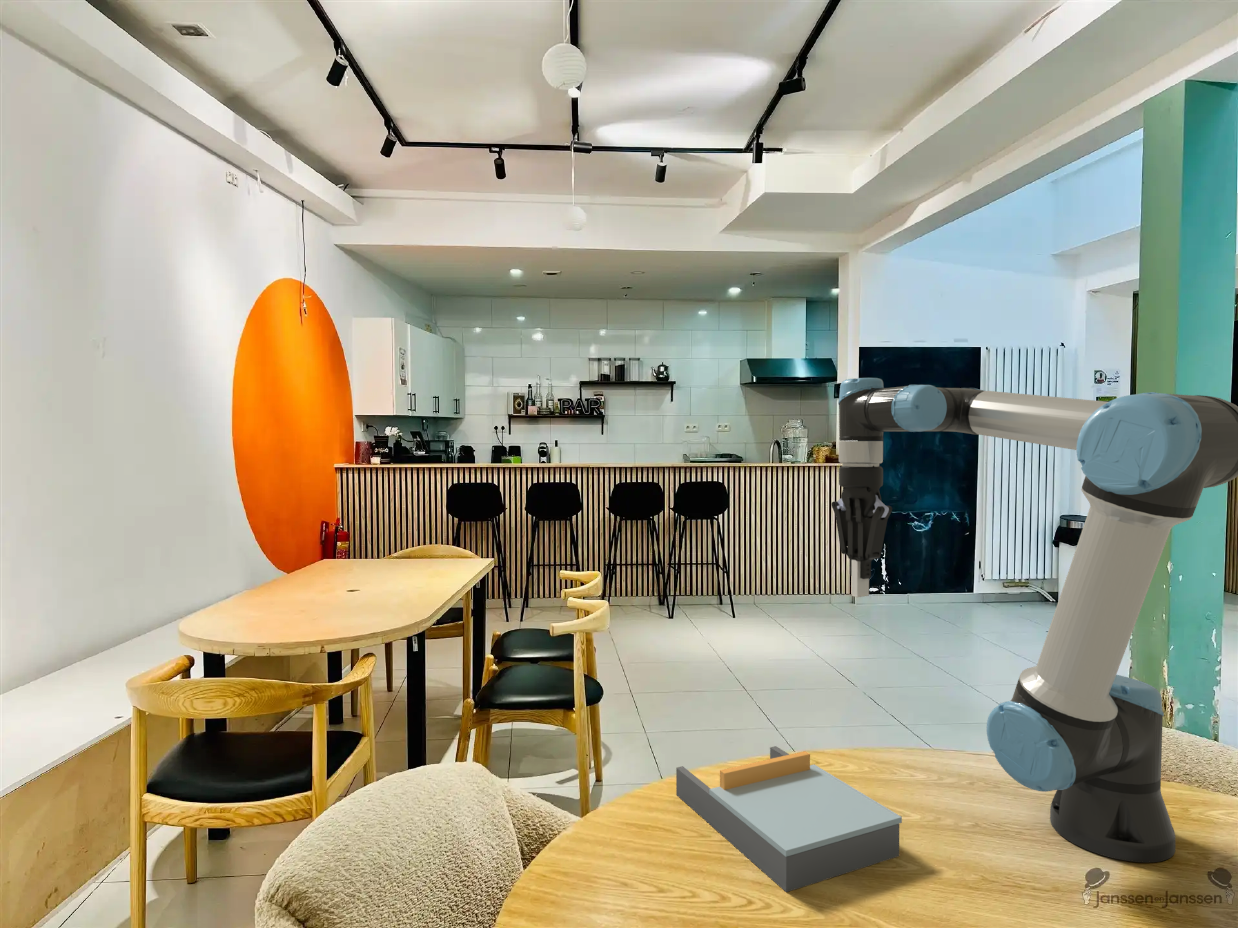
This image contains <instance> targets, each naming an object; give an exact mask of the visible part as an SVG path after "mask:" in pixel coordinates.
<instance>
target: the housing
mask: <svg viewBox="0 0 1238 928" xmlns="http://www.w3.org/2000/svg"><path fill="white" fill-rule="evenodd" d="M790 754H791V753H790ZM790 754H789V753H788V752H787V751H784V749H781V748H780V747H779V746H777V745H776V746H775V745H774V746H770V747H769V759H772V758H777V757H781V756H786V755H790ZM675 770H676V771H675V772H676V773H675V775H676V778H675V779H676V780H675V781H676V791H675V792H676V796H677V797H678V798H679V799H681V801H682V802H683V803H685V804H686V805H687V806H688V807H689V808H690V809H692V810H693V811H694V812H695V813H696V814H697V815H698V816H699V817H701V818H702V820H704V821H705V822H706V823H707V824H708V825H710V826H711V827H712V828H713V829H714V830H715V831H717V833H719V835H721V836H722V837H723V838H725V839H726V841H728V842H729V843H730V844H731V845H732V846H733V847H735V849H737V850H738V851H739V852H740V853H741V854H742V855H743V856H744V857H746V858H747V859H748V860H749V861H750V862H751V863H753V864H754V865H755V866H756V867H757V868H758V869H759V870H761V872H763V873H764V874H765V875H766V876H767V877H768V878H770V880H772V881H773V882H774V883H775V884H776V885H777V886H779V888H781V889H782V890H783V891H784V892H785V893H788V892H790V891H791V892H792V891H795V890H797V889H801V888H804V887H807V886H811V885H813V884H816V883H819V882H822V881H825V880H829V879H832V878H834V877H839V876H841V875H844V874H847V873H851V872H854V871H857V870H860V869H863V868H866V867H869V866H873V865H876V864H878V863H879V864H880V863H882V862H885V861H888V860H891V859H895V858H897V857H900V823H899V824H896V825H892V826H889V827H886V828H882V829H879V830H875V831H872V832H869V833H865V834H862V835H858V836H855V837H852V838H848V839H845V840H842V841H838V842H835V843H831V844H828V845H825V846H821V847H818V848H814V849H811V850H808V851H804V852H801V853H797V854H794V855H791V856H787V857H785V856H784V855H783V854H782V853H781V852H779V851H778V850H777V849H776V848H774V847H773V846H772V845H771V844H770V843H768V842H767V841H766V840H765V839H763V838H762V837H761V836H760V835H759V834H757V833H756V832H755V831H754V830H752V829H751V828H750V827H749V826H748V825H746V824H745V823H744V822H743V821H741V820H740V819H739V818H738V817H737V816H735V815H734V814H733V813H732V812H730V811H729V810H728V809H727V808H726V807H724V806H723V805H722V804H721V803H719V802H718V801H717V800H716V799H715V798H713V797H712V796H711V795H710V794H709V789H712V788H710V787H709V786H708V785H707V784H706V783H704V781H702V780H701V779H699V778H698V777H697V776H696V775H695V774H693V773H692V772H691V771H689V770H688V768H685V766H678V767H676V769H675Z"/></svg>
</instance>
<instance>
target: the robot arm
mask: <svg viewBox="0 0 1238 928" xmlns="http://www.w3.org/2000/svg"><path fill="white" fill-rule="evenodd" d="M839 387H840V388H839V396H838V413H839V414H838V417H839V418H838V420H839V421H838V427H839V428H838V429H839V430H838V431H839V432H838V433H839V439H838V463H840V464H842V465H841V466H839V468H838V485H839V486H840V487H842V491H841V493H840V499H838V500H836V501H832V502H831V508H832V509H833V513H834V516H835V521H836V528H837V535H838V542H839V547H840V553H841V554H842V555H846V556H847V558H848V559H849V575H850V577H851V581H850V582H851V585H850V587H851V595H850V596H852V597H855V598H863V597H869V596H870V580H871V577H872V561H873V560H875V559H879V558H881V556H882V550H883V545H884V540H885V536H886V529H887V523H888V519H889V518H890V515H891V513H892V512H893V507H892V506H890V505H885V503H883V502H882V496H881V493H880V489H881V488H882V487H883V485H884V468H883V467H882V466H880V464H882V463H883V462H884V461H883V460H884V433H885V432H911V433H912V432H913V433H916V432H919V433H921V432H955V433H956V432H957V433H964V434H971V435H977V436H978V435H980V436H986V437H992V438H998V439H1004V440H1010V441H1011V440H1012V441H1017V442H1023V443H1030V444H1036V445H1043V446H1049V447H1054V448H1061V449H1067V450H1073V451H1076V458H1077V461H1078V462H1080V465H1081V468H1080V469H1081V471H1082V473H1083V474H1084V476H1085V477H1084V479H1083V483H1082V486H1081V489H1080V490H1081V493H1082V494H1083V495H1084V496H1085V498H1086V499H1087V501H1088V502H1089V503H1088V504H1089V510H1088V512H1087V515H1086V518H1085V522H1084V525H1083V527H1082V529H1081V533H1080V535H1079V539H1078V542H1077V545H1076V549H1075V551H1074V554H1073V557H1072V561H1071V562H1070V566H1069V569H1068V572H1067V575H1066V577H1065V580H1064V583H1063V587H1062V590H1061V593H1060V596H1059V598H1058V600H1057V601H1058V602H1057V605H1056V607H1055V610H1054V613H1053V616H1052V620H1051V623H1050V626H1049V628H1048V631H1047V634H1046V637H1045V639H1044V643H1043V646H1042V649H1041V652H1040V654H1039V658H1038V661H1037V664H1036V665H1035V666H1031V667H1029V668H1025V669H1024V670H1022V671H1021V672H1020V674H1019V677H1018V680H1017V683H1016V686H1015V689H1014V691H1013V695H1012V697H1011V700H1009V701H1004V702H1000V703H999V704H998V705H997V706H996V707H994V708H993V709H992V710H991V711H990V713H989V715H988V716H987V720H986V721H987V722H986V735H987V741H988V744H989V747H990V749H991V750H992V751H993V753H994V757H995V759H996V761H997V763H998V764H999V765H1000V767H1002V769H1003V770H1004V771H1005V772H1006V774H1008V776H1010V778H1012V779H1013V780H1014V781H1015V782H1017V783H1019V784H1020V785H1022V786H1023V787H1025V788H1027V789H1031V790H1032V791H1037V792H1045V793H1046V792H1053V791H1055V793H1054V796H1053V798H1052V800H1051V803H1050V807H1049V808H1050V810H1049V813H1050V815H1049V816H1050V817H1049V822H1050V825H1051V827H1052V828H1053V829H1054V831H1056V833H1058V834H1059V835H1060V836H1061V837H1063V838H1064V839H1066V840H1067V841H1069V842H1071V844H1074V845H1075V846H1078V847H1080V848H1083V849H1085V850H1086V851H1089V852H1091V853H1095V854H1097V855H1101V856H1104V857H1108V858H1112V859H1115V860H1119V861H1120V860H1121V861H1124V862H1125V861H1126V862H1133V863H1134V862H1135V863H1158V862H1164V861H1166V860H1168V859H1171V858H1172V857H1173V856H1174V855H1175V852H1176V832H1175V829H1174V826H1173V825H1172V820H1171V817H1170V815H1169V813H1168V808H1167V807H1166V804H1165V800H1164V798H1163V795H1162V791H1161V789H1162V788H1161V787H1162V785H1161V783H1162V756H1163V755H1162V751H1163V749H1162V748H1163V747H1162V745H1163V717H1165V715H1164V711H1163V702H1162V701H1163V700H1162V699H1163V698H1162V695H1161V693H1160V691H1159V690H1158V689H1157V688H1156V687H1154V686H1153V685H1151V684H1149V683H1146V682H1144V681H1141V680H1138V679H1135V678H1132V677H1129V676H1125V675H1120V674H1117V673H1118V671H1119V668H1120V665H1121V663H1122V661H1123V657H1124V655H1125V653H1126V650H1127V647H1128V644H1129V641H1130V639H1131V636H1132V634H1133V632H1134V628H1135V625H1136V623H1137V621H1138V618H1139V616H1140V612H1141V610H1142V608H1143V604H1144V602H1145V600H1146V596H1147V593H1148V591H1149V589H1150V585H1151V584H1152V581H1153V578H1154V575H1155V572H1156V570H1157V568H1158V564H1159V562H1160V559H1161V557H1162V554H1163V551H1164V548H1165V546H1166V544H1167V541H1168V538H1169V535H1170V533H1171V531H1172V530H1171V529H1172V528H1173V527H1175V526H1176V525H1179V524H1181V523H1184V522H1187V521H1189V520H1191V519H1192V518H1193V516H1194V514H1195V511H1196V509H1197V506H1198V503H1199V501H1200V498H1201V495H1202V493H1203V490H1204V489H1206V488H1207V489H1208V488H1215V487H1218V486H1221V485H1224V484H1226V483H1228V482H1230V481H1232V480H1234V479H1236V478H1237V477H1238V406H1237V405H1236V404H1234V403H1232V402H1230V401H1229V400H1225V399H1223V398H1221V397H1217V396H1209V395H1200V394H1199V395H1198V394H1195V395H1191V394H1190V395H1188V394H1178V393H1177V394H1175V393H1162V392H1161V393H1160V392H1156V391H1155V392H1154V391H1151V392H1142V393H1136V394H1129V395H1123V396H1120V397H1117V398H1114V399H1111V400H1109V401H1102V400H1093V399H1082V398H1080V399H1079V398H1071V397H1061V396H1049V395H1041V394H1040V395H1037V394H1026V393H1019V392H1018V393H1015V392H1004V391H995V390H984V389H978V388H975V387H961V388H960V387H936V385H932V384H909V385H904V386H903V385H902V386H896V387H894V386H893V387H884V381H883V379H882V378H878V377H857V378H848V379H845V380H843V381H841V383H840V386H839Z"/></svg>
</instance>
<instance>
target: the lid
mask: <svg viewBox="0 0 1238 928" xmlns="http://www.w3.org/2000/svg"><path fill="white" fill-rule="evenodd" d="M709 794H710V795H711V796H712V797H713V798H715V799H716V800H717V801H718V802H719V803H721V804H722V805H723V806H724V807H726V808H727V809H728V810H729V811H730V812H732V813H733V814H734V815H735V816H737V817H738V818H739V819H740V820H741V821H743V822H744V823H745V824H746V825H748V826H749V827H750V828H751V829H752V830H754V831H755V832H756V833H757V834H759V835H760V836H761V837H762V838H763V839H765V840H766V841H767V842H768V843H770V844H771V845H772V846H773V847H774V848H776V849H777V850H778V851H779V852H781V853H782V854H783V855H784V856H785V857H787V856H791V855H794V854H797V853H801V852H804V851H808V850H811V849H814V848H818V847H821V846H825V845H828V844H831V843H835V842H838V841H842V840H845V839H848V838H852V837H855V836H858V835H862V834H865V833H869V832H872V831H875V830H879V829H882V828H886V827H889V826H892V825H896V824H899V825H900V824H902V822H903V817H902V816H901V815H899V814H898V813H896V812H894V811H892V810H891V809H889V808H888V807H886V806H884V805H882V804H881V803H879V802H878V801H876V800H874V799H873V798H871V797H869V796H867V795H866V794H864V793H863V792H861V791H859V790H858V789H856V788H854V787H853V786H851V785H850V784H848V783H846V782H845V781H842V780H841V779H839V778H837V777H836V776H834V775H833V774H831V773H830V772H828V771H826V770H824V769H822V768H821V767H819V766H818V765H817V764H811V753H809V752H808V751H806V750H805V751H800V752H796V753H792V754H791V753H790V755H786V756H781V757H777V758H772V759H770V758H769V759H765V760H759V761H756V762H751V763H746V764H742V765H738V766H737V765H736V766H733V767H729V768H724V769H720V770H719V786H716V787H712V788H711V789H709Z"/></svg>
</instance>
